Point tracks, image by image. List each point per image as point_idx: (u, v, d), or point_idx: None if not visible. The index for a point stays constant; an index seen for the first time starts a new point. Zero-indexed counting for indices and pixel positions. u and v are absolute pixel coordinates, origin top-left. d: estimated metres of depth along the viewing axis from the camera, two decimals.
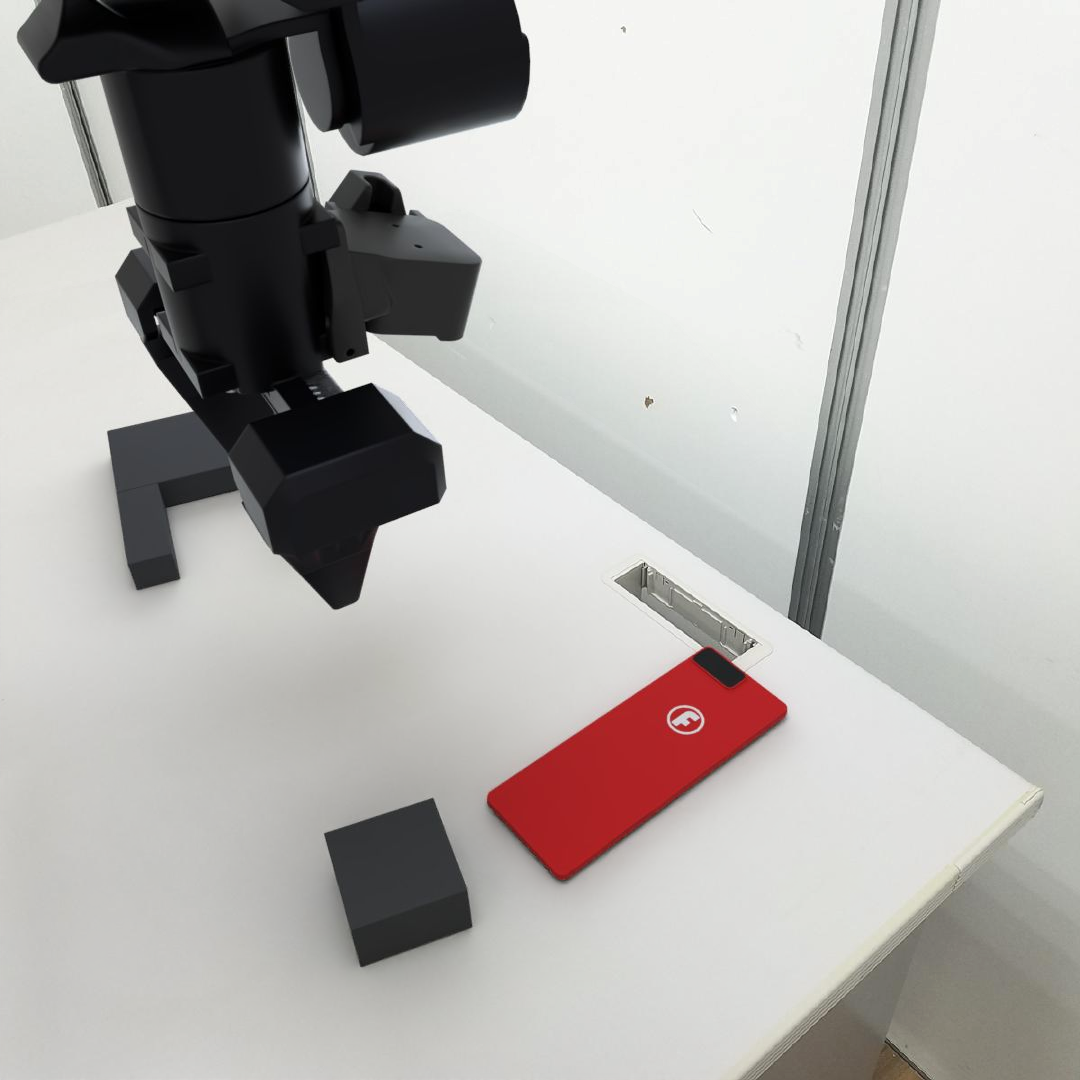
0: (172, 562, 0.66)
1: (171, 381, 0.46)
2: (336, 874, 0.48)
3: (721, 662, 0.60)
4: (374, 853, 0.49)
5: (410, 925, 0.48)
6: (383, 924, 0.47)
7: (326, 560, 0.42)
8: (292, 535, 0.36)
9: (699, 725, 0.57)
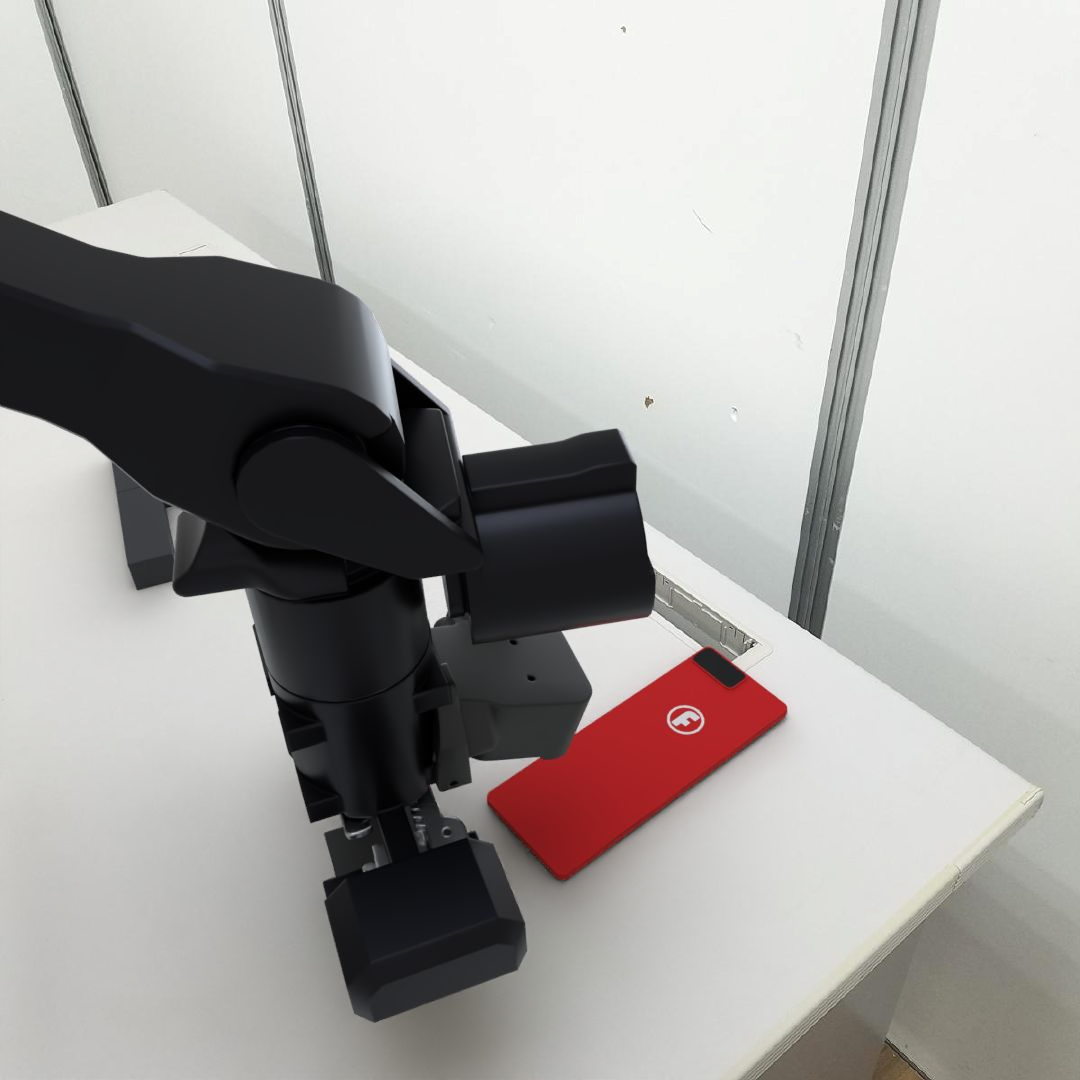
0: (172, 562, 0.66)
1: None
2: (336, 874, 0.48)
3: (721, 662, 0.60)
4: None
5: None
6: None
7: None
8: (372, 1009, 0.37)
9: (699, 725, 0.57)
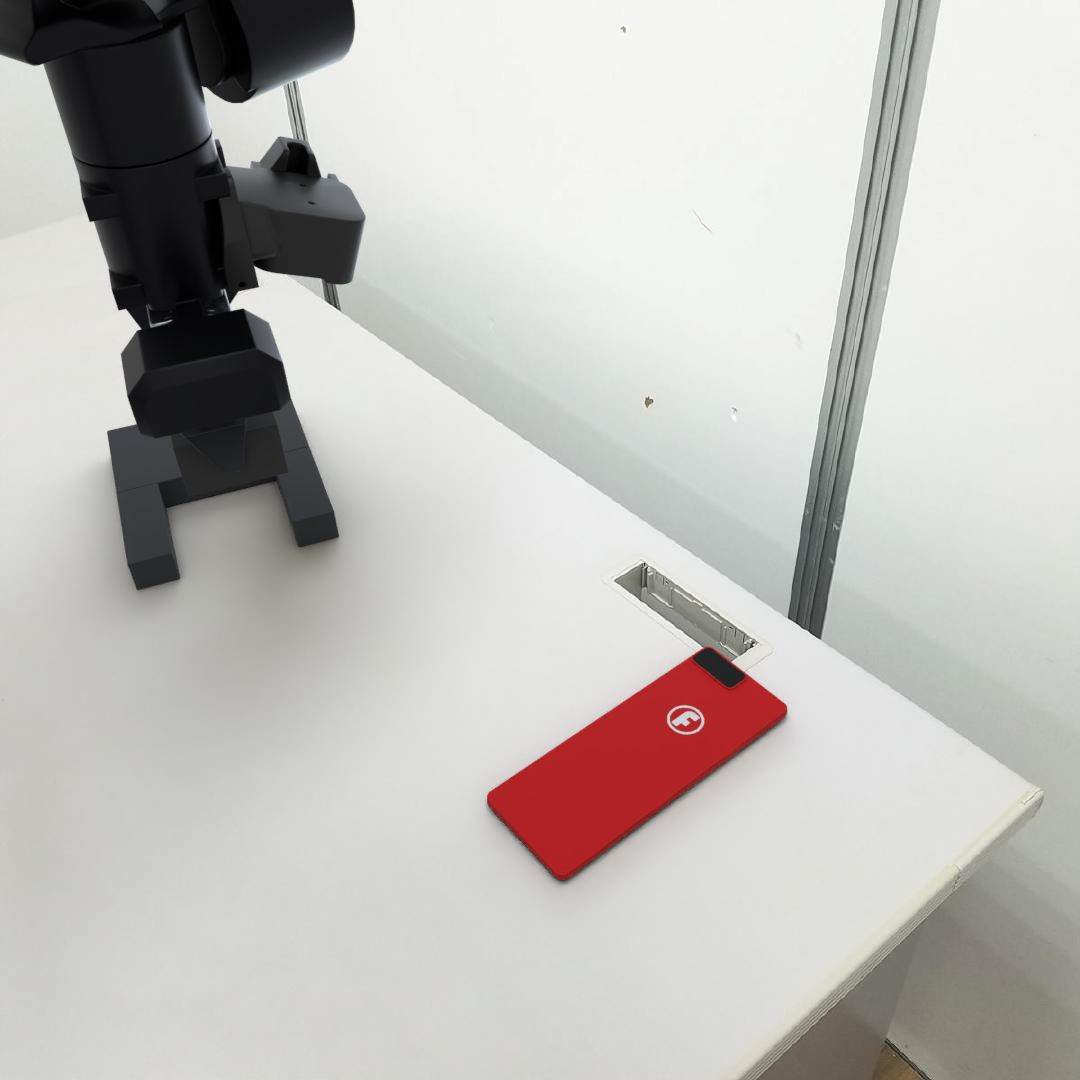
0: (172, 562, 0.66)
1: (135, 319, 0.55)
2: None
3: (721, 662, 0.60)
4: None
5: None
6: None
7: (205, 428, 0.53)
8: (150, 419, 0.45)
9: (699, 725, 0.57)
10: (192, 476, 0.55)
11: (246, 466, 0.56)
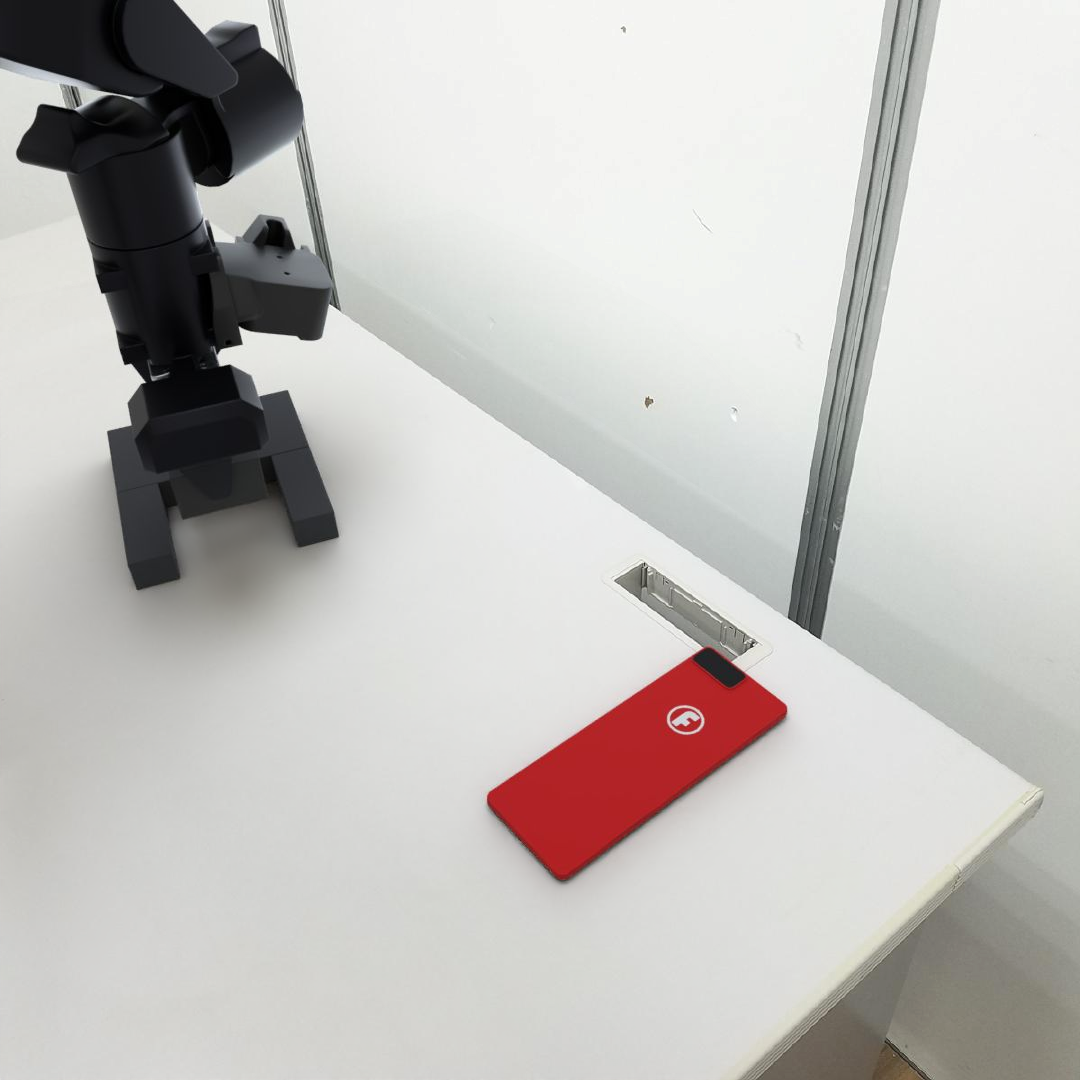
0: (172, 562, 0.66)
1: (136, 368, 0.65)
2: None
3: (721, 663, 0.60)
4: None
5: None
6: None
7: None
8: (153, 458, 0.54)
9: (699, 725, 0.57)
10: (185, 502, 0.65)
11: (232, 493, 0.66)
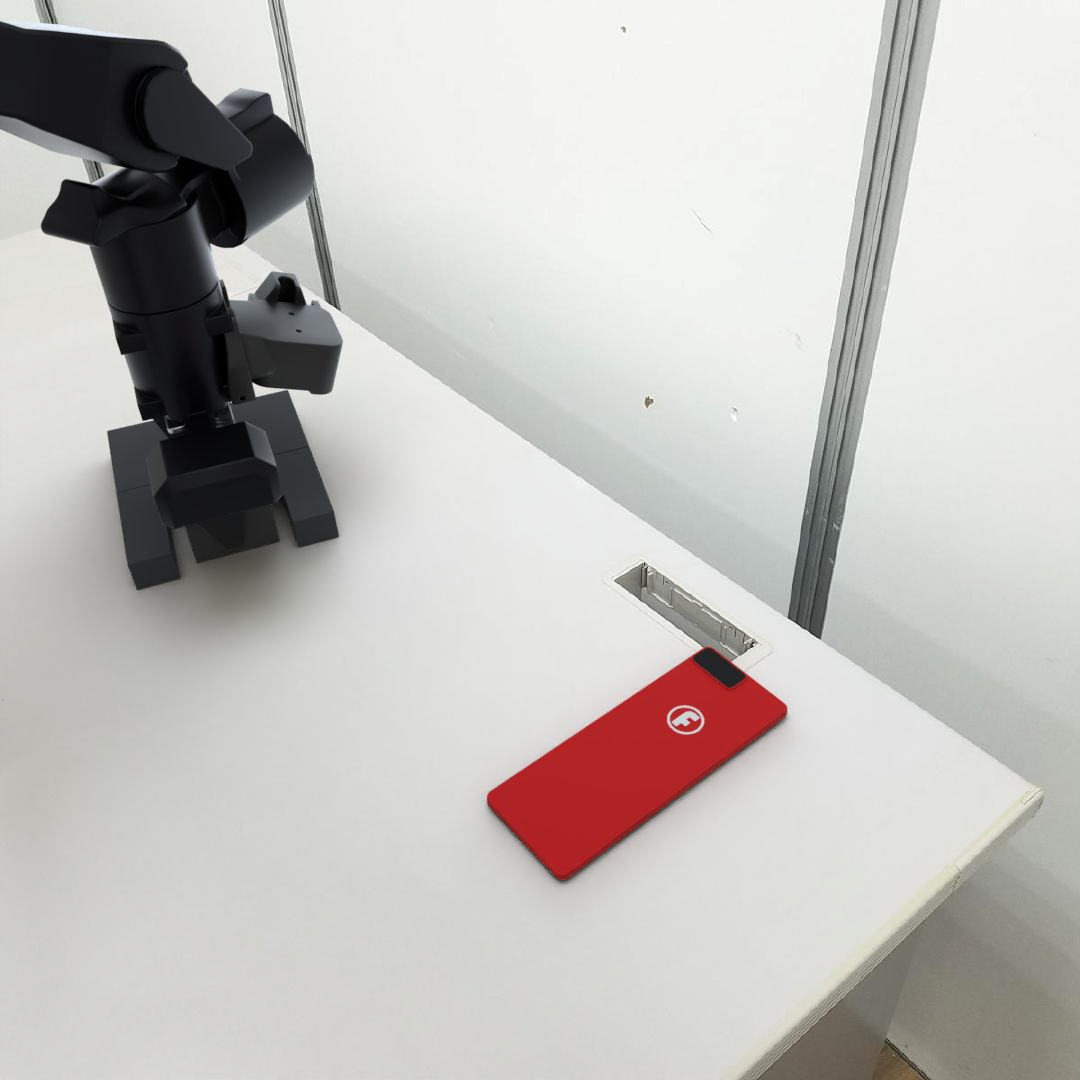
0: (172, 562, 0.66)
1: None
2: None
3: (721, 663, 0.60)
4: None
5: None
6: None
7: None
8: (171, 514, 0.57)
9: (699, 725, 0.57)
10: (200, 546, 0.67)
11: None
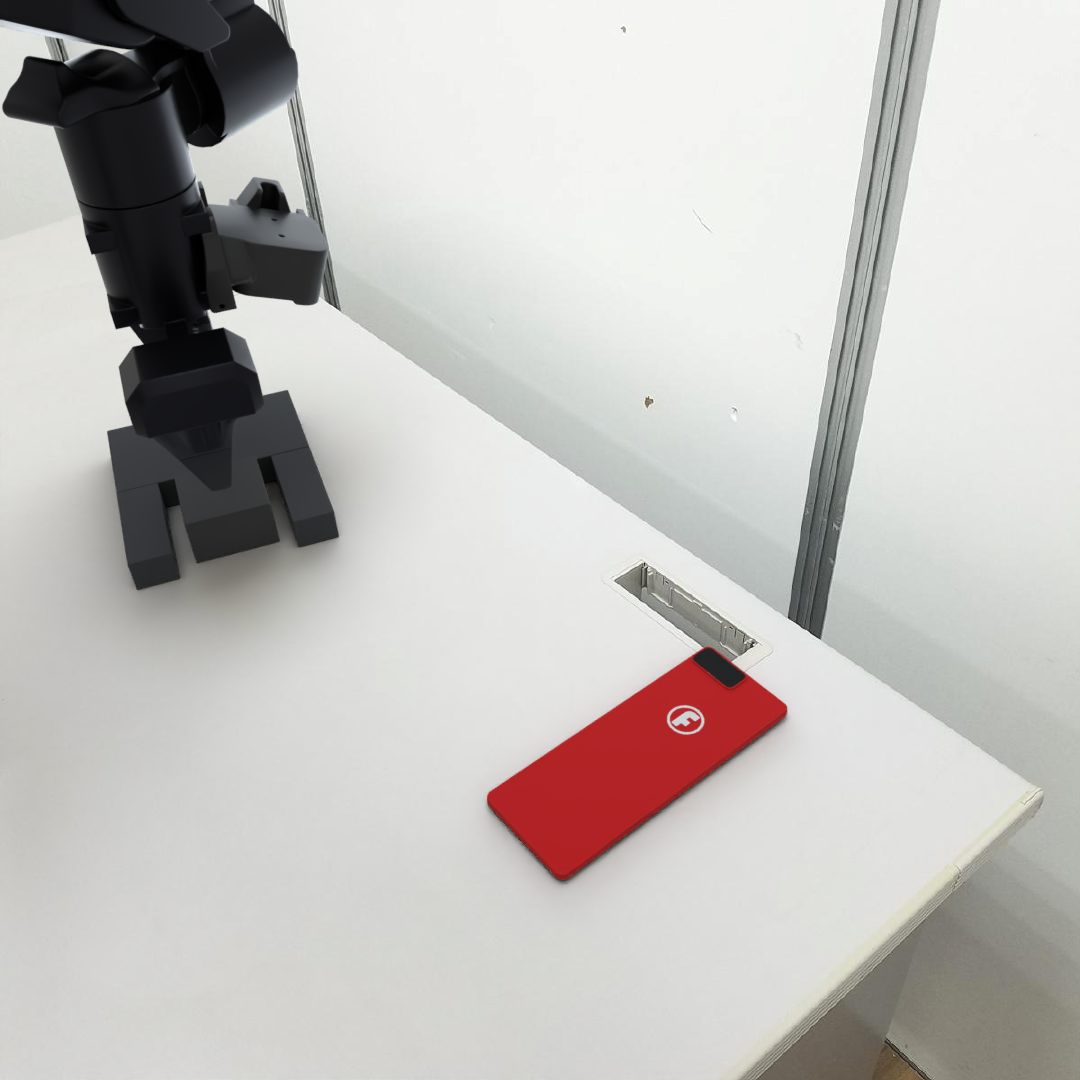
0: (172, 562, 0.66)
1: None
2: (179, 496, 0.68)
3: (721, 662, 0.60)
4: None
5: (230, 529, 0.67)
6: (209, 524, 0.66)
7: (196, 451, 0.59)
8: (144, 422, 0.53)
9: (699, 725, 0.57)
10: (200, 546, 0.67)
11: (244, 537, 0.68)
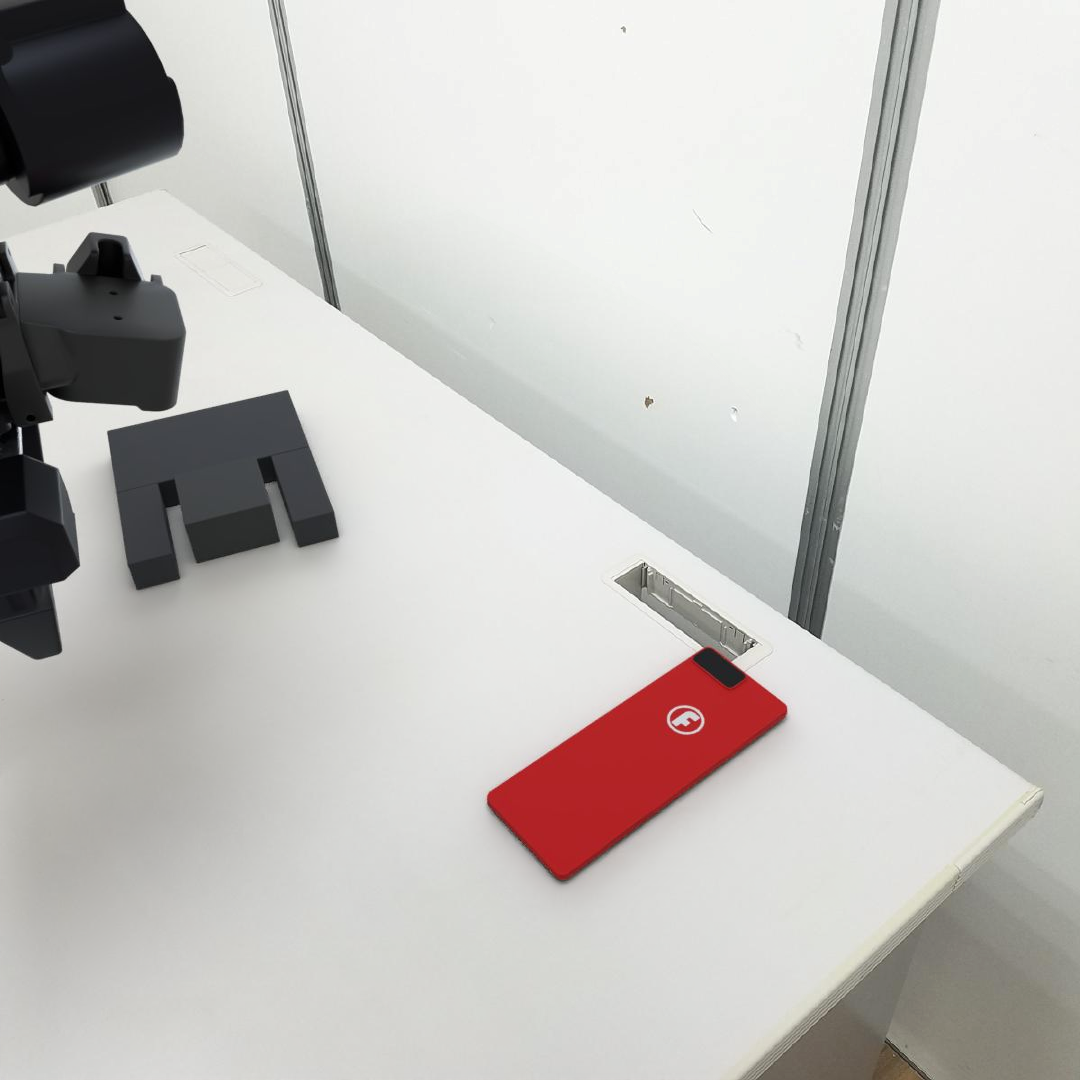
0: (172, 562, 0.66)
1: None
2: (179, 496, 0.68)
3: (721, 663, 0.60)
4: (207, 485, 0.68)
5: (230, 529, 0.67)
6: (209, 524, 0.66)
7: (1, 616, 0.43)
8: None
9: (699, 725, 0.57)
10: (200, 546, 0.67)
11: (244, 537, 0.68)
